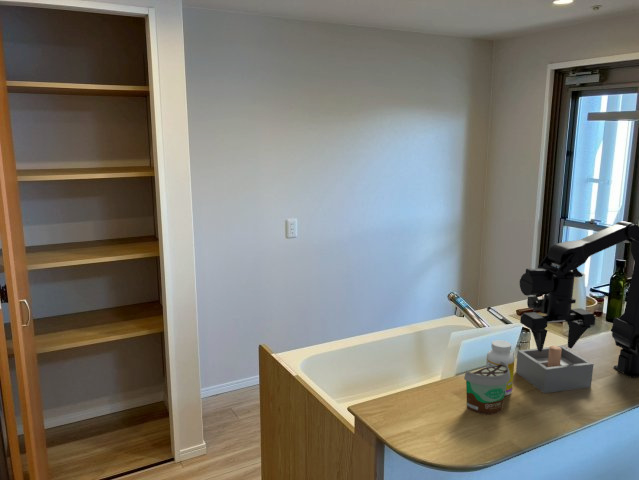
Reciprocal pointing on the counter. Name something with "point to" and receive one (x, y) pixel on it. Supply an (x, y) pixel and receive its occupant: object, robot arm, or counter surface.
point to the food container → (487, 389)
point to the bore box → (554, 370)
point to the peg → (554, 356)
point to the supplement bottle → (502, 359)
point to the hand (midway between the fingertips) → (554, 349)
